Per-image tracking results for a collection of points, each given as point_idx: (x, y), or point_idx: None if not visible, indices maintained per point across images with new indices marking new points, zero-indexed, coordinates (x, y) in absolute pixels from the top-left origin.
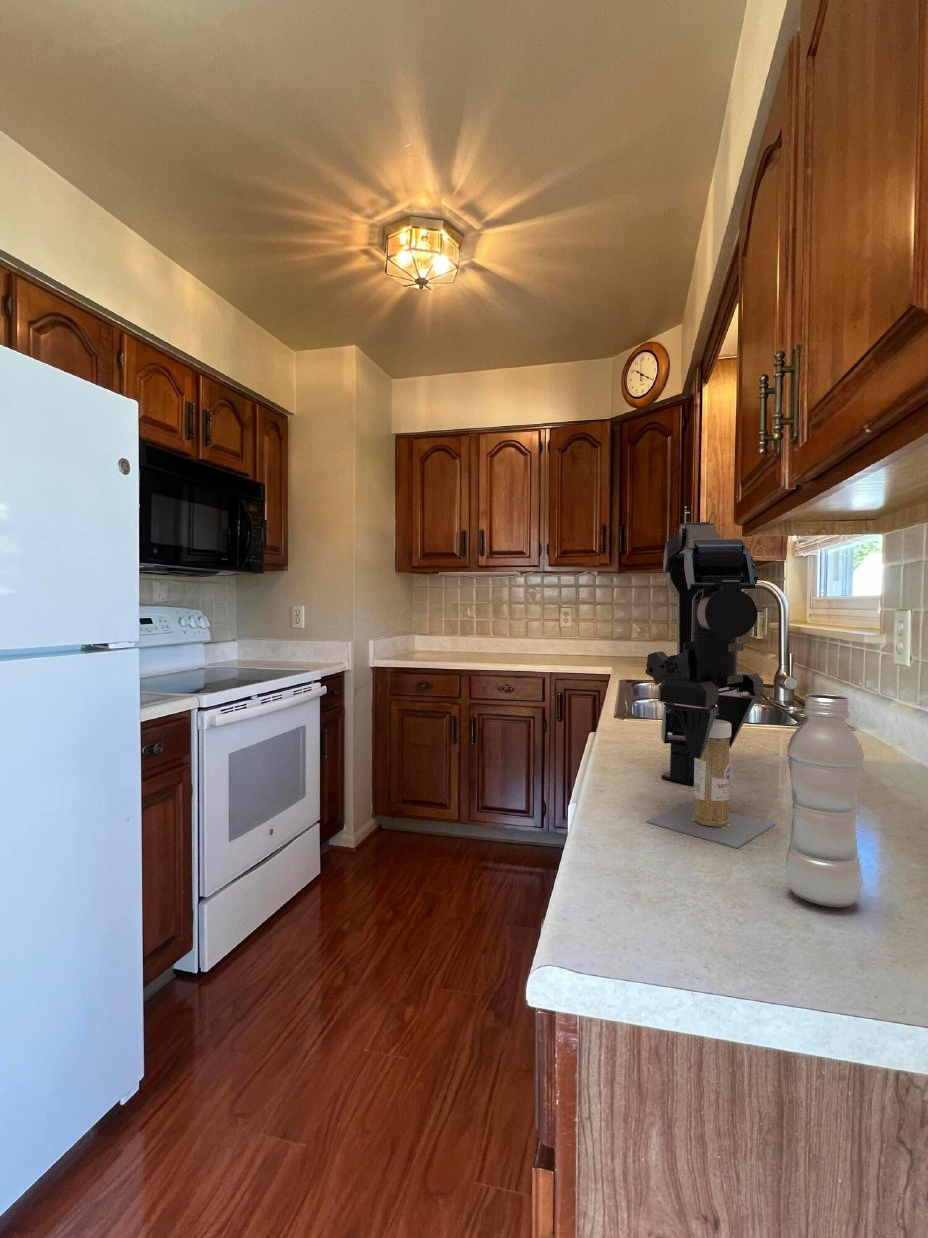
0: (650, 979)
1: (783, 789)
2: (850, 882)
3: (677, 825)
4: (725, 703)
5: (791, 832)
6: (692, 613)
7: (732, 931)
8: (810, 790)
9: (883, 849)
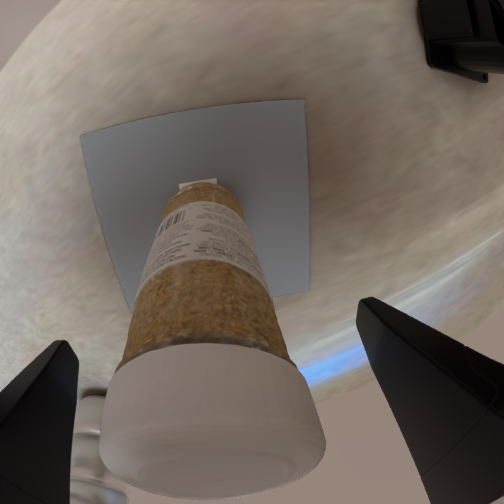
0: None
1: (496, 196)
2: None
3: (116, 193)
4: (489, 460)
5: (73, 447)
6: None
7: (6, 379)
8: None
9: (316, 386)
